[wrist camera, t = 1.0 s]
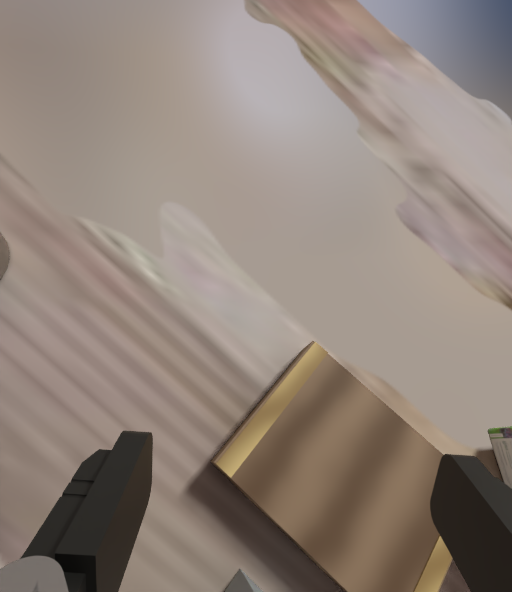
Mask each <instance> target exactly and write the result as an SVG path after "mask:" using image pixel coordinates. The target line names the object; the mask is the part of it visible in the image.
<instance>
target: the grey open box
mask: <svg viewBox="0 0 512 592" xmlns="http://www.w3.org/2000/svg"><path fill="white" fill-rule="evenodd" d="M224 592H263V591H262V590H261V589H260V588H259V587H258V586H257V585H256V584H255V583H254V582H253V581H252V580H251V579H250V578H249V577H248V576H247V575H246V574H245V573H244V572H243V571H242V570H241V569H239V571H238V572H237V574H236V575H235V577H234V578H233V580H232V581H231V583H230V584H229V586H228V587H227V588H226V590H225V591H224Z"/></svg>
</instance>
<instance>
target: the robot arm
mask: <svg viewBox="0 0 512 592" xmlns="http://www.w3.org/2000/svg"><path fill="white" fill-rule="evenodd" d="M8 263H9V248H8V244H7V242H6V240H5V239H4V237H3V236H2V234H1V233H0V279H1V278H2V277H3V275H4V273H5V271H6V269H7V267H8ZM152 445H153V438H152V433H150V432H136V431H123V432H122V433H121V434H120V436H119V438H118V440H117V442H116V443H115V445H114V447H113V449H112V450H101V449H99V450H98V451H96V452H95V453H94V454H93V455H91V456H90V457H89V458H88V459H86V460H85V461H84V462H82V464H81V465H80V467H79V468H78V470H77V472H76V473H75V475H74V476H73V478H72V480H71V483H69V484H68V486H67V487H66V489H65V490H64V492H63V494H62V497H60V498H59V500H58V501H57V503H56V504H55V506H54V508H53V509H52V511H51V512H50V514H49V515H48V517H47V518H46V520H45V522H44V523H43V525H42V526H41V528H40V529H39V531H38V533H37V534H36V536H35V537H34V539H33V540H32V542H31V543H30V545H29V547H28V548H27V550H26V551H25V553H24V554H23V556H22V557H21V558H20V559H19V560H16V561H14V562H12V563H10V564H8V565H6V566H4V567H3V568H1V569H0V592H118V591H119V588H120V585H121V582H122V579H123V576H124V573H125V570H126V567H127V564H128V561H129V558H130V555H131V552H132V549H133V546H134V543H135V540H136V538H137V535H138V532H139V529H140V526H141V523H142V520H143V517H144V514H145V511H146V508H147V505H148V501H149V497H150V492H151V484H152ZM430 511H431V517H432V520H433V523H434V525H435V527H436V529H437V531H438V533H439V534H440V536H441V538H442V540H443V542H444V543H445V545H446V547H447V549H448V551H449V552H450V554H451V556H452V558H453V560H454V561H455V563H456V565H457V567H458V569H459V570H460V572H461V574H462V576H463V578H464V579H465V581H466V583H467V585H468V587H469V588H470V590H471V592H512V488H510V487H509V486H508V485H506V484H505V483H504V482H502V481H501V480H499V479H498V478H496V477H493V476H492V474H491V473H490V472H489V471H488V470H487V469H486V467H485V466H484V465H483V464H482V463H481V462H480V461H479V460H478V459H477V458H476V457H474V456H465V455H451V454H445V455H443V456H442V458H441V460H440V464H439V467H438V471H437V475H436V479H435V483H434V487H433V491H432V495H431V499H430Z"/></svg>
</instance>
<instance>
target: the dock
mask: <svg viewBox="0 0 512 592" xmlns="http://www.w3.org/2000/svg"><path fill="white" fill-rule="evenodd" d="M442 456H443V454H442V453H441V452H439V451H438V450H437V449H436V448H435V447H434V446H433V445H431V444H430V443H429V442H428V441H427V440H426V439H425V438H423V437H422V436H421V435H420V434H419V433H418V432H417V431H415V430H414V429H413V428H412V427H411V426H410V425H409V424H408V423H406V422H405V421H404V420H403V419H402V418H401V417H400V416H398V415H397V414H396V413H395V412H394V411H393V410H392V409H390V408H389V407H388V406H387V405H386V404H385V403H384V402H382V401H381V400H380V399H379V398H378V397H377V396H376V395H374V394H373V393H372V392H371V391H370V390H369V389H368V388H367V387H365V386H364V385H363V384H362V383H361V382H360V381H359V380H357V379H356V378H355V377H354V376H353V375H352V374H351V373H349V372H348V371H347V370H346V369H345V368H344V367H343V366H341V365H340V364H339V363H338V362H337V361H336V360H335V359H333V358H332V357H331V356H330V355H329V354H328V352H327V351H325V350H324V349H323V348H322V347H321V346H320V345H319V344H317V343H316V342H314V341H312V342H311V343H310V344H309V345H307V346H306V347H305V348H304V349H303V350H302V351H301V352H300V354H299V355H298V356H297V357H296V358H295V360H294V361H293V362H292V363H291V364H290V366H289V367H288V368H287V369H286V371H285V372H284V373H283V374H282V375H281V377H280V378H279V379H278V380H277V381H276V383H275V384H274V385H273V386H272V388H271V389H270V390H269V391H268V392H267V394H266V395H265V396H264V397H263V399H262V400H261V401H260V402H259V403H258V405H257V406H256V407H255V408H254V409H253V411H252V412H251V413H250V414H249V416H248V417H247V418H246V419H245V420H244V422H243V423H242V424H241V425H240V426H239V428H238V429H237V430H236V431H235V433H234V434H233V435H232V436H231V437H230V439H229V440H228V441H227V442H226V443H225V445H224V446H223V447H222V448H221V450H220V451H219V452H218V453H217V454H216V456H215V457H214V458H213V459H212V461H211V463H212V464H214V465H215V466H216V467H217V468H218V469H219V470H220V471H221V472H222V473H223V474H224V475H225V476H226V477H227V478H228V479H229V480H230V481H231V482H232V483H233V484H234V485H235V486H236V487H237V488H238V489H239V490H240V491H241V492H242V493H243V494H244V495H245V496H246V497H248V498H249V499H250V500H251V501H252V502H253V503H254V504H255V505H256V506H257V507H258V508H259V509H260V510H261V511H262V512H263V513H264V514H265V515H266V516H267V517H268V518H269V519H270V520H271V521H272V522H273V523H274V524H275V525H276V526H277V527H278V528H279V529H280V530H282V531H283V532H284V533H285V534H286V535H287V536H288V537H289V538H290V539H291V540H292V541H293V542H294V543H295V544H296V545H297V546H298V547H299V548H300V549H301V550H302V551H303V552H304V553H305V554H306V555H307V556H308V557H309V558H310V559H311V560H312V561H313V562H314V563H316V564H317V565H318V566H319V567H320V568H321V569H322V570H323V571H324V572H325V573H326V574H327V575H328V576H329V577H330V578H331V579H332V580H333V581H334V582H335V583H336V584H337V585H338V586H339V587H340V588H341V589H342V590H343V591H344V592H439V590H440V588H441V586H442V583H443V581H444V579H445V576H446V574H447V572H448V569H449V567H450V565H451V562H452V560H453V558H452V556H451V554H450V552H449V551H448V549H447V547H446V545H445V543H444V542H443V540H442V538H441V536H440V534H439V533H438V531H437V529H436V527H435V525H434V523H433V520H432V517H431V511H430V499H431V495H432V491H433V487H434V483H435V479H436V475H437V471H438V467H439V464H440V460H441V458H442Z"/></svg>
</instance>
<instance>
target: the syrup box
mask: <svg viewBox="0 0 512 592" xmlns="http://www.w3.org/2000/svg"><path fill="white" fill-rule="evenodd" d="M488 434H489V437H490V440H491V444H492V447H493V450H494V453H495V456H496V459H497V463H498V466H499V469H500V472H501V475H502V478H503V481H504V483H505V484H506V485H508V486H509V487H510V488H512V426H510V427H502V428H492V429H488Z"/></svg>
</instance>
